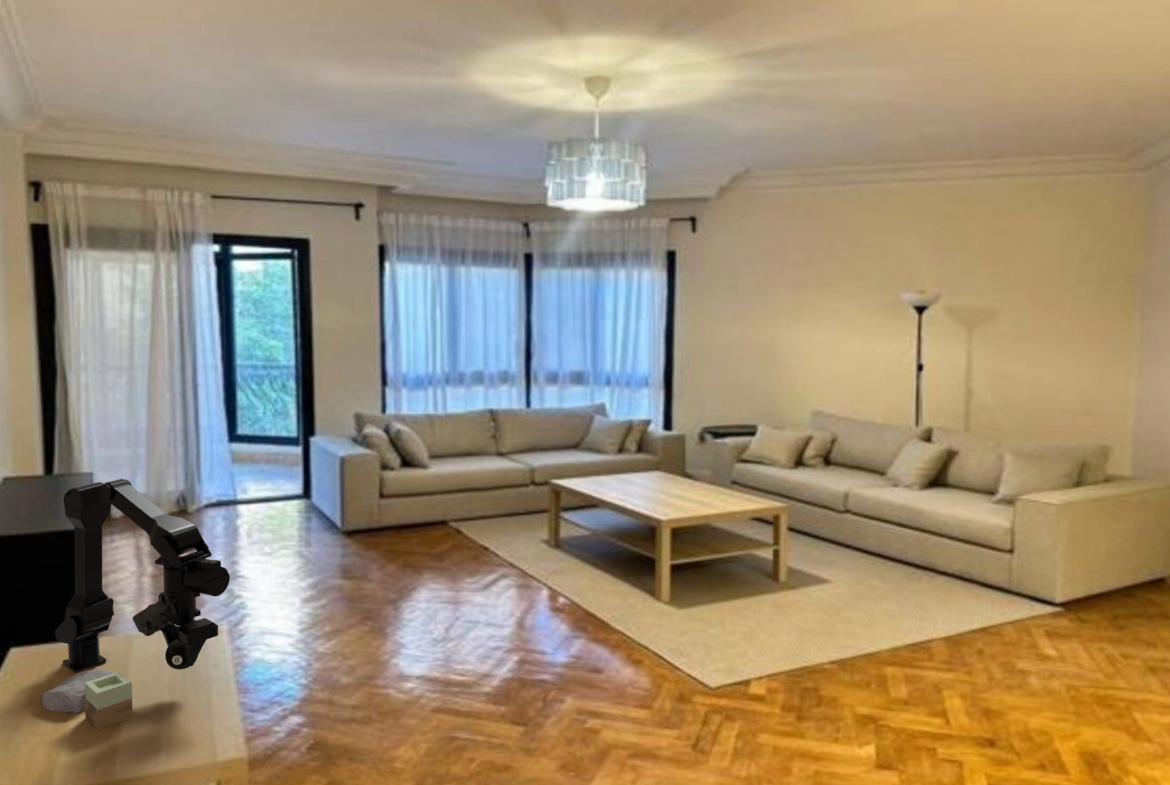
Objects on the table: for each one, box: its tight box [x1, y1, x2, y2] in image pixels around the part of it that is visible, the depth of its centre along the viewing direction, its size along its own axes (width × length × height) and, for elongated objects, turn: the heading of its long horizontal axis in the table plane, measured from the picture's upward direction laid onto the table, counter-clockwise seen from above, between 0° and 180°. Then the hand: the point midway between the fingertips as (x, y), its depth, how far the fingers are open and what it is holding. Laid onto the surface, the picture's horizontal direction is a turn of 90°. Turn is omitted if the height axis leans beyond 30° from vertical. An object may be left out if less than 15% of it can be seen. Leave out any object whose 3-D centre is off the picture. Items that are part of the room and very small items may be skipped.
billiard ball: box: [164, 640, 199, 671], centre depth 167 cm, size 6×6×6 cm
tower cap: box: [85, 671, 133, 710], centre depth 156 cm, size 6×6×3 cm
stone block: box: [41, 668, 115, 714], centre depth 164 cm, size 12×5×10 cm
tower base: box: [84, 697, 134, 730], centre depth 157 cm, size 6×6×4 cm
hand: (182, 661), depth 167 cm, fingers closed on billiard ball, 6 cm apart
